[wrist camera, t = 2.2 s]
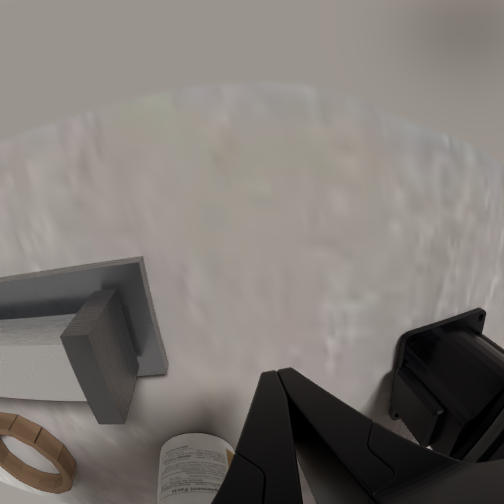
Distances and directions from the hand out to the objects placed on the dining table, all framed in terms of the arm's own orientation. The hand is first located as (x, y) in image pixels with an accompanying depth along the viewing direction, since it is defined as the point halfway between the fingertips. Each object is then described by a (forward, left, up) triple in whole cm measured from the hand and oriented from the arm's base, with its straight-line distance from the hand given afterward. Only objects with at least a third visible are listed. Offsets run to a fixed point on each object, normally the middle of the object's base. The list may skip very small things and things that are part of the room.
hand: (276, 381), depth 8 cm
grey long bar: (+13, 0, -4) cm, 13 cm away
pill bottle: (+4, +9, -6) cm, 12 cm away
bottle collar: (+16, +9, -6) cm, 19 cm away
